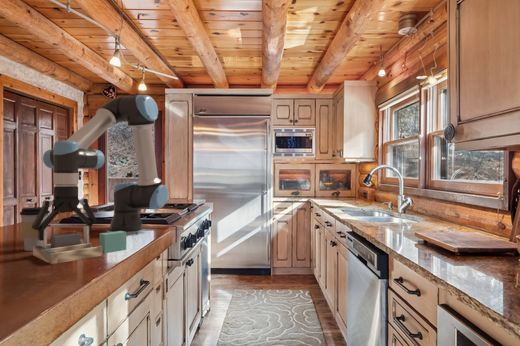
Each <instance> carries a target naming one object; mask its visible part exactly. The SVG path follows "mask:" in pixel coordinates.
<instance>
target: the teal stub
mask: <svg viewBox="0 0 520 346" xmlns="http://www.w3.org/2000/svg"><path fill="white" fill-rule="evenodd" d="M98 244H99V246H102V247H103V254H110V253H116V252H121V251H127V231H110V232H101V233H99V243H98Z"/></svg>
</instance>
